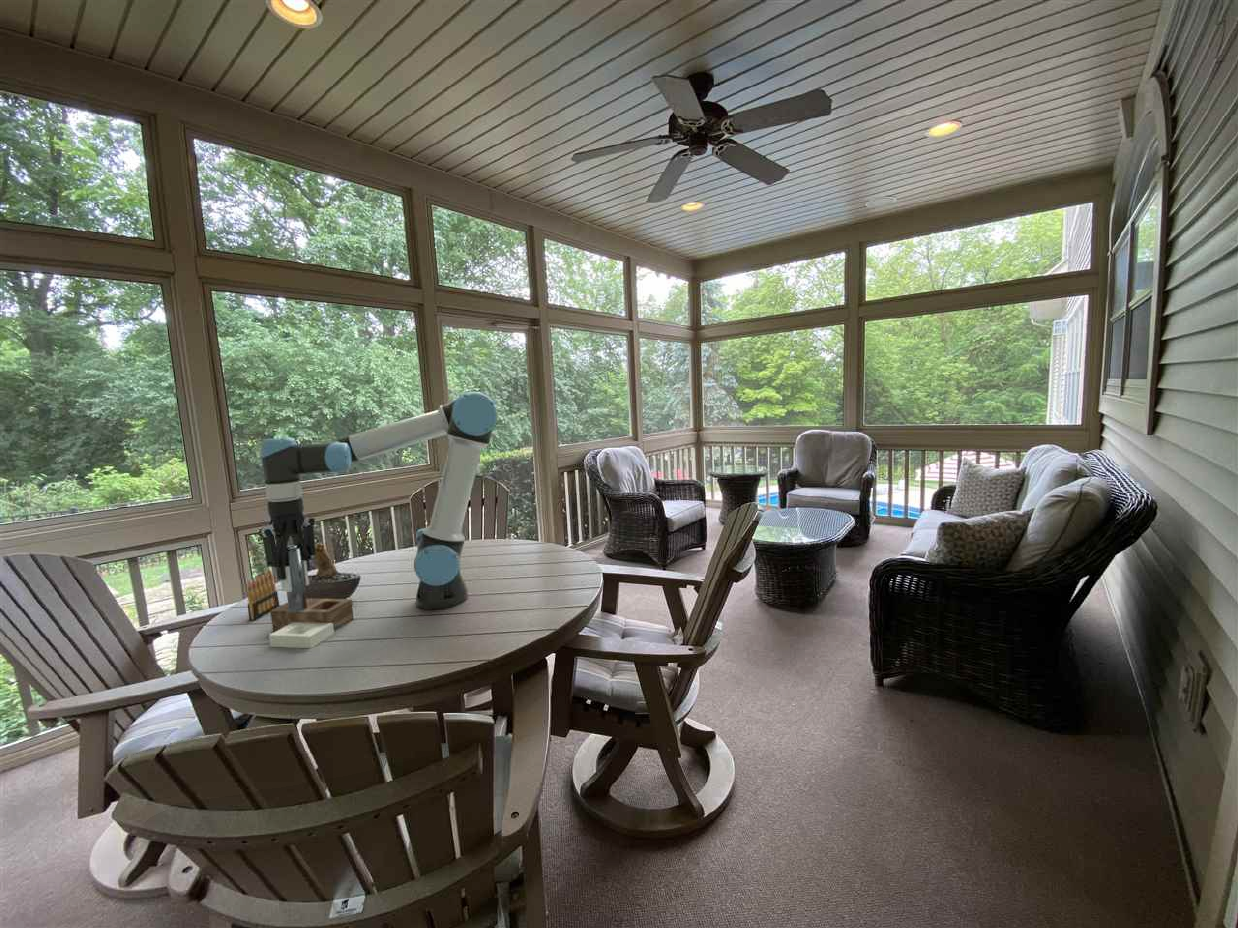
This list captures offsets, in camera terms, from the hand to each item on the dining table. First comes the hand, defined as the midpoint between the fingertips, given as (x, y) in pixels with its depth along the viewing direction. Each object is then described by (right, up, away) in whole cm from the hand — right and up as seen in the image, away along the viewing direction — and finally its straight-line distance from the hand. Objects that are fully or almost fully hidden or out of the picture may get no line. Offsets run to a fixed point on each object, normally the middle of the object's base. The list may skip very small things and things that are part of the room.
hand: (295, 587), depth 132 cm
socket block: (-2, -13, +11) cm, 17 cm away
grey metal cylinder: (0, -6, +1) cm, 6 cm away
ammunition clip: (-23, -13, +22) cm, 34 cm away
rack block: (+1, -14, +2) cm, 14 cm away
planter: (-7, -12, +27) cm, 30 cm away
